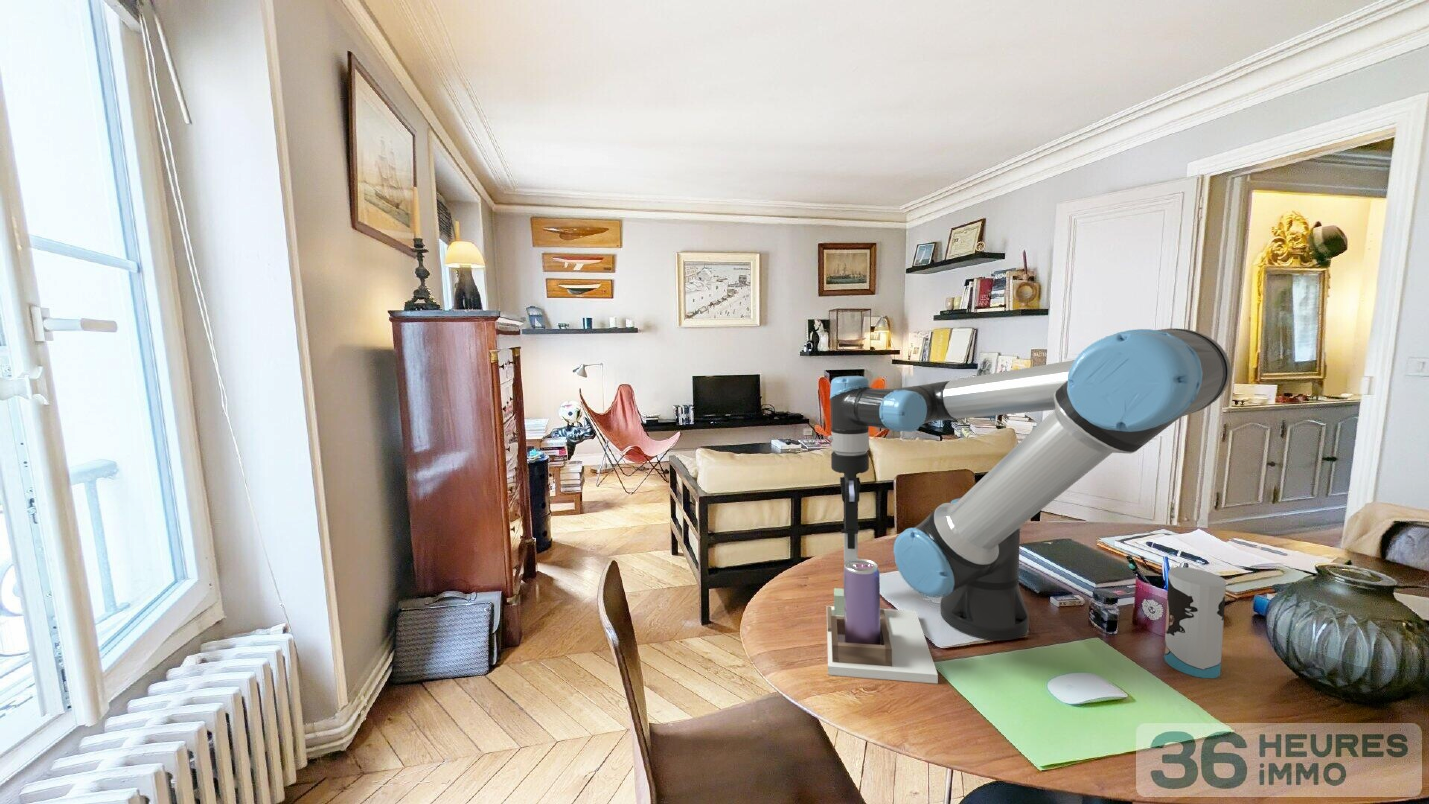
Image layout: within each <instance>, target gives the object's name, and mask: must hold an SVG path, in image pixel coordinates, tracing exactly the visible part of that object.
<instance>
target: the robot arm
mask: <svg viewBox="0 0 1429 804" xmlns="http://www.w3.org/2000/svg"><path fill="white" fill-rule="evenodd" d="M1231 370H1232V367H1231V362H1230V359H1229V357H1228V355H1227V353H1226V351H1225V349H1224V348H1223V347H1222V346H1221V345H1220V344H1219V343H1218V342H1217V341H1215V340H1214V339H1213V338H1212V337H1210V336H1207V335H1205V334H1203V333H1200V332H1199V331H1194V330H1191V329H1186V328H1164V329H1163V328H1162V329H1161V328H1160V329H1150V328H1149V329H1147V328H1146V329H1145V328H1143V329H1142V328H1141V329H1140V328H1137V329H1129V330H1125V331H1120V332H1116V333H1114V334H1110V335H1109V336H1105V337H1104V338H1101V339H1099V340H1097V341H1095V342H1093V343H1091V344H1090V345H1089V346H1087V347H1086V348H1084V349H1083V350H1082V352H1081V353H1079V355H1077V357H1076V358H1075V359H1073V360H1065V361H1060V362H1055V363H1054V362H1053V363H1048V364H1042V365H1037V366H1030V367H1026V368H1017V369H1012V370H1005V371H1000V372H994V373H993V372H992V373H989V374H982V375H976V376H975V375H974V376H970V377H965V378H957V379H953V380H946V381H936V382H932V383H927V384H921V385H914V386H913V385H912V386H905V387H897V388H873V387H870V385H869V379H868V377H866V376H862V375H861V376H860V375H846V376H844V375H843V376H838V377H837V376H836V377H834V378H833V379H832V380H831V381H830V392H829V393H830V394H829V395H830V396H829V401H830V402H829V403H830V432H831V433H830V434H831V435H828V436H827V440H829V441H831V442H830V443H831V450H832V452H831V454H830V457H831V458H830V459H831V460H830V461H831V463H830V465H831V469H832V470H833V471H834V472H836V473H839V474H843V476H842V477H841V476H840V477H839V482H840V483H839V484H840V490H841V492H840V493H841V499H842V503H843V519H842V520H843V529H842V528H841V529H840V533H841V534H843V561H844V563H845V562H846V561H848V560H851V559H859V558H858V556H859V553H858V548H859V547H858V544H859V543H858V539H859V538H858V536H859V535H858V534H859V530H861V526H860V525H859V502H860V490H861V488H862V487H861V486H862V485H861V479H860V476H859V477H857V475H858V474H863V473H866V472H868V471H869V469H870V460H869V459H870V454H869V452H868V451H869V450H870V429H869V427H873V428H878V429H883V430H889V431H893V432H898V433H899V432H900V433H901V432H907V433H912V432H915V431H917V430H919V428H920V427H922V426H923V424H926V423H930V422H931V423H933V422H938V421H939V422H941V421H950V420H957V419H958V420H959V419H967V418H979V417H990V416H1000V415H1011V414H1012V415H1013V414H1022V413H1023V414H1024V413H1033V412H1034V413H1035V412H1046V411H1047V412H1048V411H1051V412H1050V413H1049V414H1048V415H1047V416H1046V417H1044V419H1043V420H1041V422H1039V423H1038V425H1036V427H1034V428H1033V429H1032V430H1031V431H1030V432H1029V433H1028V434H1026V436H1025V437H1024V438H1023V439H1022V440H1020V442H1018V444H1017V445H1015V446H1014V448H1012V449H1011V450H1010V451H1009V452H1008V453H1007V454H1006V455H1005V456H1004V457H1003V458H1002V459H1001V460H1000V461H999V462H997V464H996V465H994V466H993V467H992V468H991V469H990V470H989V471H988V472H986V474H985V475H984V476H983V477H982V478H981V479H980V480H978V481H977V483H975V485H973V486H972V487H971V488H970V489H969V490H968V491H967V492H966V493H965V494H964V495H962V497H960V498H959V497H958V498H955V499H952V500H951V501H950V502H943V503H941V504H940V505H938V506H937V507H936V508H935V509H934V510H933V511H932V512H931V513H930V514H929V515H928V516H927V517H926V518H925V519H923V520H922V522H920V523H919V524H918V525H916V526H914V527H908V528H906V529H905V530H904V531H902V532H900V533H899V535H897V537H896V538H895V541H894V543H893V555H894V557H895V558H894V562H895V565H896V569H897V570H898V571H899V573H900V575H901V578H903V580H904V581H905V583H906V584H907V585H908V586H909V587H910V588H911V589H913V591H915V592H917V593H918V594H919V595H920V594H921V595H924V596H925V597H927V598H939V597H941V599H940V609H939V610H940V616H941V618H942V619H943V620H944V622H946V624H948V625H949V626H950V627H952V628H954V630H957V631H959V632H962V633H963V634H966V635H969V636H972V637H976V638H980V639H984V640H993V641H1010V640H1016V639H1020V638H1022V637H1023V636H1025V635H1026V634H1027V633H1028V632H1029V629H1030V627H1029V626H1030V615H1029V612H1028V608H1027V607H1026V603H1025V600H1024V597H1023V595H1022V592H1021V589H1020V586H1019V582H1020V581H1019V578H1020V577H1019V575H1020V573H1019V572H1020V540H1021V539H1020V538H1021V537H1020V536H1021V535H1020V534H1021V529H1022V526H1024V525H1025V523H1027V522H1028V521H1029V520H1030V519H1032V518H1033V517H1035V516H1036V515H1037V514H1038V513H1039V512H1040V511H1042V510H1043V509H1044V508H1046V507H1047V506H1048V505H1049V504H1051V503H1052V502H1053V501H1054V500H1055V499H1057V498H1058V497H1059V496H1061V495H1062V494H1063V493H1064V492H1065V491H1067V490H1068V489H1069V488H1070V487H1072V486H1073V485H1075V483H1076V482H1078V481H1080V479H1082V478H1084V476H1085V475H1086V474H1088V473H1089V472H1090V471H1091V470H1093V469H1094V468H1095V467H1096V466H1098V465H1099V464H1100V463H1102V462H1103V461H1104V460H1105V459H1107V458H1108V457H1109V456H1111V454H1113V453H1114V454H1115V453H1116V454H1134V453H1136V452H1137V451H1138V450H1139V449H1141V448H1142V447H1144V446H1145V445H1147V443H1149V442H1150V441H1151V440H1153V439H1154V438H1155V437H1157V436H1158V435H1159V434H1161V433H1162V432H1163V431H1165V430H1166V429H1167V428H1168V427H1169V426H1171V425H1173V423H1175V422H1177V420H1179V419H1180V418H1182V417H1184V416H1185V417H1186V416H1188V415H1191V414H1194V413H1197V412H1200V411H1202V410H1203V409H1207V407H1209V406H1210V405H1212V404H1213V403H1214V402H1216V401H1218V399H1219V398H1220V397H1221V396H1223V394H1224V392H1225V390H1226V389H1227V387H1228V386H1229V383H1230V378H1231V374H1232V371H1231Z"/></svg>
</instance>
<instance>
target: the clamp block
mask: <svg viewBox="0 0 1429 804" xmlns="http://www.w3.org/2000/svg"><path fill="white" fill-rule="evenodd" d="M833 606H834V611H835V615H843V616H844V588H838V587H837V588H835V587H834V588H833Z"/></svg>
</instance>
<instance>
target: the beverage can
mask: <svg viewBox="0 0 1429 804" xmlns="http://www.w3.org/2000/svg"><path fill="white" fill-rule="evenodd" d="M842 571H843V573H842V574H843V575H842V576H843V579H842V580H843V589H844V622H845V643H857V644H872V645H881V635H880V609H881V591H880V590H881V589H880V588H881V585H880V584H881V581H880V579H881V578H880V569H879V565H878V563H877V562H875V561H873V560H870V559H867V558H858V559H851V560H848V561H846V562H844V565H843V570H842Z"/></svg>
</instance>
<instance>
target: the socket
mask: <svg viewBox="0 0 1429 804" xmlns="http://www.w3.org/2000/svg"><path fill="white" fill-rule="evenodd" d="M838 635H845V622H844V616H831V636H832V662H838V663H851V664H865V665H878V666H891V667H892V648H891V643H890V639H889V635H888V630H887V626H886V621H885V619H880V635H881V645H872V644H857V643H843V642H838Z"/></svg>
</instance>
